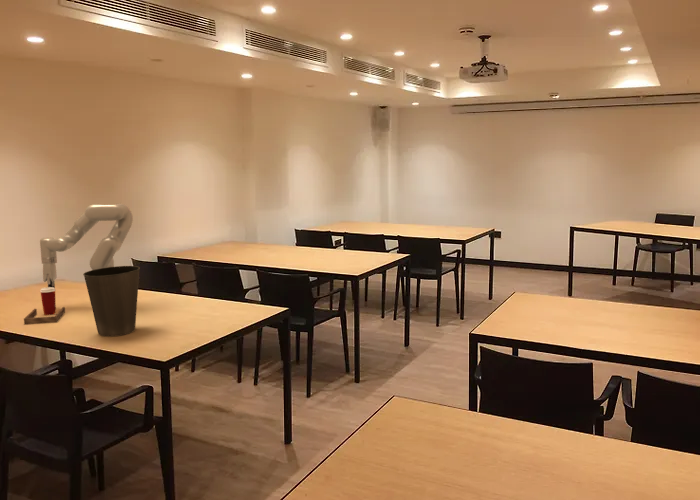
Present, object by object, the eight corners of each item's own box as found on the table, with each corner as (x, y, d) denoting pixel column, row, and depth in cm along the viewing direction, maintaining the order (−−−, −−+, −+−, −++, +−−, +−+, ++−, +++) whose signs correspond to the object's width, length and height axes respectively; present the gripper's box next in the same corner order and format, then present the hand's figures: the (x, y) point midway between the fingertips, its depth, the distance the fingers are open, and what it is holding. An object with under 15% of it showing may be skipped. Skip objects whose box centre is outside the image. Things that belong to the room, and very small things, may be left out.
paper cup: (60, 312, 325) (58, 287, 323) (48, 316, 318) (46, 290, 316) (50, 311, 328) (48, 286, 326) (38, 314, 321) (36, 289, 319)
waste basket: (104, 342, 272) (99, 277, 267) (77, 335, 283) (73, 272, 278) (153, 328, 294) (149, 268, 290) (126, 322, 305) (123, 264, 301)
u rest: (65, 312, 326) (64, 307, 325) (56, 322, 306) (56, 316, 305) (34, 314, 322) (34, 308, 322) (24, 324, 302) (23, 318, 301)
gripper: (45, 258, 333) (47, 290, 336) (38, 262, 319) (40, 296, 321) (59, 258, 335) (62, 290, 337) (53, 262, 320) (56, 295, 323)
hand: (51, 293), depth 329 cm, fingers closed
